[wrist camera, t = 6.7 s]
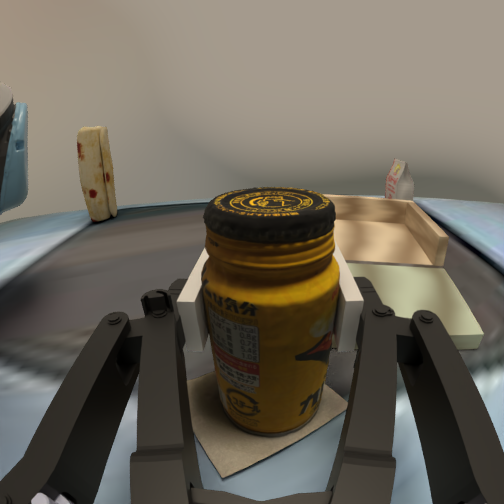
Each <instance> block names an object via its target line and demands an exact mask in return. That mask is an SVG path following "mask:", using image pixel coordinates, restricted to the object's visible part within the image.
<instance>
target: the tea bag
mask: <svg viewBox="0 0 504 504" xmlns="http://www.w3.org/2000/svg"><path fill="white" fill-rule="evenodd" d="M413 193H414V183H413V181H412V178H411V175H410V172H409V169H408V164H407V163H406V162H403V161H401V160H398V159H394V163H393V165H392V168H391V169H390V171H389V174H388V176H387V177H386V193H385V198H387V199H399V200H410V201H413Z"/></svg>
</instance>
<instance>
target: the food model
mask: <svg viewBox="0 0 504 504" xmlns="http://www.w3.org/2000/svg"><path fill="white" fill-rule="evenodd" d="M77 150H78V164H79V174H80V182H81V186H82V191H83V194H84V198H85V201H86V205H87V209H88V212H89V215H90V218H91V220H92V222H98V221H101V220H105V219H108V218H110V216H111V214H112V216H113V217H115V216H116V215H117V205H116V197H115V188H114V175H113V165H112V159H111V154H110V147H109V140H108V133H107V127H101V126H96V127H93V128H91V127H83V128H82V129H80V130H79V132H78V135H77Z"/></svg>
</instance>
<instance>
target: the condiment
mask: <svg viewBox="0 0 504 504" xmlns="http://www.w3.org/2000/svg"><path fill="white" fill-rule="evenodd" d="M203 218H204V223H205V225H206V232H207V235H206V243H205V249H206V252H207V254H208V255H209V257H208V259H207V260H206V262H205V263H204V266H203V269H202V272H201V281H202V290H203V296H204V302H205V309H206V316H207V323H208V329H209V335H210V342H211V348H212V354H213V360H214V365H215V371H213V372H211V373H208V374H205V375H203V376H201V377H198V378H195V379H192V380H188V381H187V387H188V396H189V404H190V412H191V420H192V427H193V431H194V433H195V435H196V437H197V438H198V440H199V442H200V443H201V445H202V446H203V448H204V450H205V451H206V453H207V455H208V456H209V458H210V460H211V461H212V463H213V464H214V466H215V467H216V469H217V471H218V472H219V474H220V475H221V477H222V478H224V477H226V476H229V475H231V474H233V473H235V472H237V471H239V470H241V469H244V468H246V467H248V466H250V465H252V464H254V463H256V462H257V461H260V460H262V459H264V458H266V457H268V456H270V455H272V454H273V453H275V452H277V451H279V450H281V449H283V448H285V447H287V446H289V445H290V444H292V443H294V442H296V441H298V440H300V439H301V438H303V437H305V436H306V435H308V434H309V433H311V432H312V431H314V430H316V429H317V428H319V427H320V426H322V425H324V424H325V423H327V422H328V421H330V420H331V419H332V418H334V417H335V416H337V415H339V414H340V413H341V412H343V411H344V410H345V409H347V405H348V402H346V401H345V400H344V399H343V398H342V397H341V396H340V395H338V394H337V393H335V392H334V391H333V390H332V389H331V388H329V387H328V386H327V385H326V384H325V378H326V373H327V368H328V363H329V354H330V350H331V347H332V336H333V329H334V321H335V314H336V308H337V300H338V296H339V289H340V287H339V280H340V271H339V265H338V262H337V261H336V259H335V257H334V256H333V253H334V252H335V241H334V228H335V224H334V221H335V220H336V212H335V205H334V203H333V202H332V201H331V200H330V199H329V198H327V197H325V196H324V195H322V194H320V193H316V192H314V191H308V190H303V189H297V188H284V187H278V188H277V187H263V188H252V189H243V190H236V191H231V192H228V193H224V194H221V195H219V196H217V197H215V198H214V199H213V200H211V201H210V202H209V204H208V206H207V207H206V209H205V213H204V215H203Z"/></svg>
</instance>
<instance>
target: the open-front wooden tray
mask: <svg viewBox="0 0 504 504" xmlns="http://www.w3.org/2000/svg"><path fill="white" fill-rule="evenodd" d="M322 195H323V194H322ZM324 196H325V197H327V198H329V199H330V200H331V201H332V202H333V203H334V205H335V212H336V220H335V221H334V224H335V228H334V240H335V241H336V243H337V245H338V247H339V249H340V251H341V253H342V255H343V257H344V259H345V261H346V263H347V265H348V268H349V270H350V272H351V274H352V276H353V277H366V278H367V279H368V280H370V281H371V283H372V284H373V286H374V288H375V290H376V292H377V294H378V295H379V297H380V299H381V301H382V303H383V305H387V306H389V307H391V308H392V309H393V310H394V312H395V316H399V317H404V318H411V319H412V315H413V313H414V312H416V311H417V310H429V311H431V312H433V313H435V314H436V315H437V316H438V317H439V318H440V320H441V322H442V323H443V325H444V327H445V328H446V330H447V332H448V334H449V335H450V337H451V339H452V341H453V342H454V344H455V346H456V348H457V350H463V349H477V348H478V346H479V344H480V342H481V340H482V337H483V335H484V333H483V332H482V330H481V328H480V326H479V324H478V323H477V321H476V319H475V317H474V316H473V314H472V312H471V310H470V309H469V307H468V305H467V304H466V302H465V300H464V299H463V297H462V296H461V294H460V292H459V291H458V289H457V288H456V286H455V285H454V283H453V282H452V280H451V278H450V277H449V275H448V274H447V272H446V271H445V270H444V267H443V264H444V259H445V255H446V250H447V245H448V239H449V237H448V236H447V235H446V234H445V233H444V231H443V230H442V229H441V228H440V227H439V226H438V225H437V224H436V223H435V222H434V221H433V220H432V219H431V218H430V217H429V216H428V215H427V214H426V213H425V212H424V211H422V210H421V209H420V208H419V207H418V206H417V205H416V204H415V203H414V202H413V201H410V200H399V199H387V198H374V197H359V196H343V195H324ZM331 348H337V346H336V342H335V338H334V334H333V336H332V347H331ZM355 349H358V346H357V343H356V344H355Z"/></svg>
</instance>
